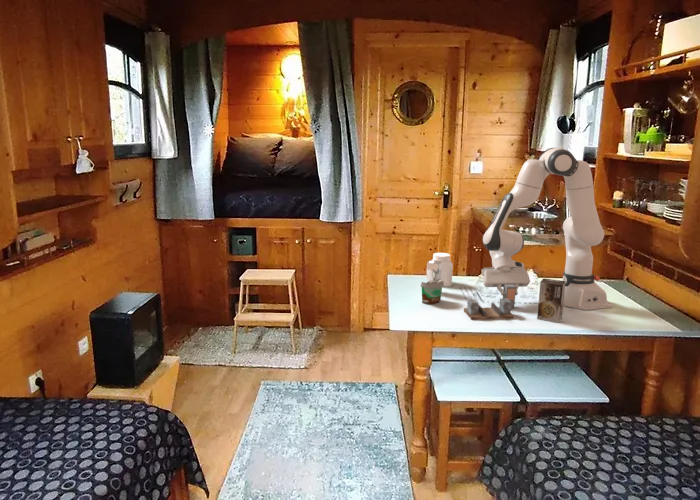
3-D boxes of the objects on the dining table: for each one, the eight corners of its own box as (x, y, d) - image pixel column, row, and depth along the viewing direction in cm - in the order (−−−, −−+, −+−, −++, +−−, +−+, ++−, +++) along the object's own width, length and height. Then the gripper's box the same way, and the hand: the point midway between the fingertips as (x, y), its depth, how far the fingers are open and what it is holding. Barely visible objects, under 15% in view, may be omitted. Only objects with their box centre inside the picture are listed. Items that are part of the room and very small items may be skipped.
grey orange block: (510, 305, 242) (512, 283, 240) (514, 308, 238) (516, 286, 235) (501, 305, 242) (503, 284, 239) (505, 309, 237) (507, 287, 235)
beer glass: (440, 295, 256) (441, 264, 252) (425, 293, 257) (426, 263, 254) (440, 290, 262) (442, 260, 259) (426, 289, 264) (427, 259, 260)
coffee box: (562, 318, 227) (566, 281, 223) (559, 323, 221) (563, 284, 218) (539, 314, 231) (543, 277, 228) (536, 318, 226) (539, 281, 222)
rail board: (504, 309, 236) (505, 296, 235) (513, 318, 226) (515, 304, 224) (463, 310, 235) (464, 296, 233) (471, 319, 224) (472, 305, 223)
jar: (429, 285, 270) (430, 256, 266) (428, 280, 279) (429, 251, 275) (452, 286, 269) (454, 257, 265) (450, 281, 278) (452, 252, 275)
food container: (430, 307, 239) (431, 285, 236) (419, 303, 243) (420, 282, 241) (448, 301, 246) (449, 280, 244) (438, 298, 251) (439, 277, 249)
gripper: (482, 264, 242) (488, 291, 234) (527, 263, 243) (534, 291, 236) (478, 271, 247) (484, 298, 240) (522, 270, 249) (529, 297, 241)
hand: (509, 294), depth 238 cm, fingers closed on grey orange block, 4 cm apart
